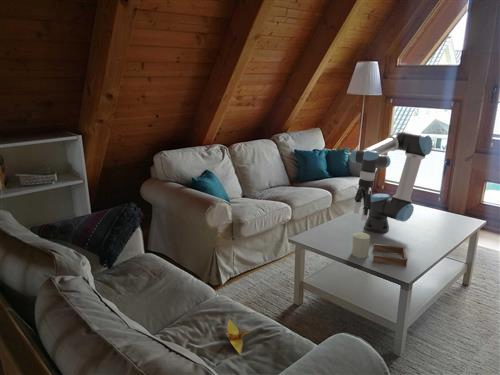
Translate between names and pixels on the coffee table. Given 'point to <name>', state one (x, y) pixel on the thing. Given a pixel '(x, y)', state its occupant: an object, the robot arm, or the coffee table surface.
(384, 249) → the bay
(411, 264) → the coffee table surface
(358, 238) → the can
